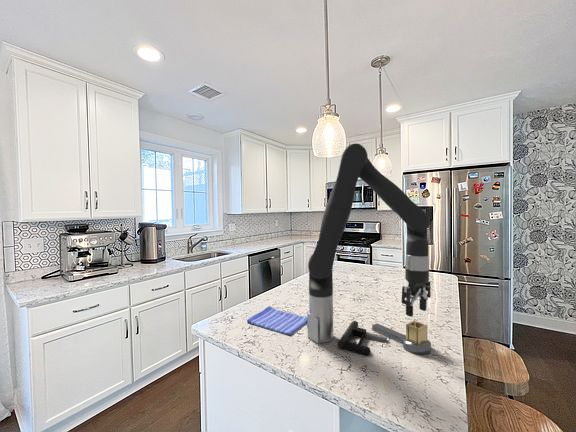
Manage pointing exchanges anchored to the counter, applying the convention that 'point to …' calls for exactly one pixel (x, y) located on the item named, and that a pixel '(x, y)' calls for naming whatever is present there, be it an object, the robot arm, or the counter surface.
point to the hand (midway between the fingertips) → (416, 312)
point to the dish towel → (278, 321)
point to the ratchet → (403, 340)
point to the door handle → (359, 332)
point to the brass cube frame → (416, 333)
